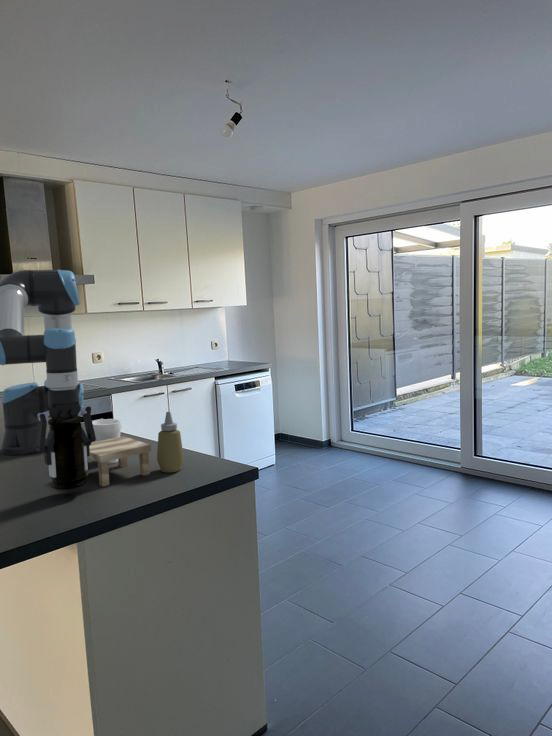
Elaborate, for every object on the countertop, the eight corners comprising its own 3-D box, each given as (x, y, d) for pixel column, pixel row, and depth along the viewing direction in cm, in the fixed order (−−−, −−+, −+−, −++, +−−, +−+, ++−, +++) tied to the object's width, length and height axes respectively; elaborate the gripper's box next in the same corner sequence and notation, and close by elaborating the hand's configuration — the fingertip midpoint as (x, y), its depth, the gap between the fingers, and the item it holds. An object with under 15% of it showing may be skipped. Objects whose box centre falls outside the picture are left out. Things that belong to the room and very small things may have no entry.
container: (57, 479, 151) (52, 415, 148) (90, 478, 151) (86, 414, 149) (46, 491, 142) (41, 422, 139) (82, 489, 143) (77, 421, 140)
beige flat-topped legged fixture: (76, 475, 164) (74, 446, 163) (124, 463, 175) (123, 436, 174) (101, 487, 153) (100, 455, 152) (152, 474, 164) (150, 444, 163)
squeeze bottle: (189, 467, 170) (186, 410, 168) (176, 475, 162) (173, 415, 160) (166, 465, 173) (163, 409, 170) (152, 473, 165) (149, 414, 163)
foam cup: (114, 465, 173) (112, 425, 172) (87, 464, 175) (85, 424, 174) (128, 457, 183) (126, 419, 181) (102, 456, 185) (100, 418, 183)
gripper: (27, 394, 133) (34, 485, 136) (106, 384, 148) (111, 466, 151) (16, 391, 139) (23, 478, 142) (93, 381, 153) (98, 461, 156)
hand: (68, 472), depth 146 cm, fingers closed on container, 8 cm apart
